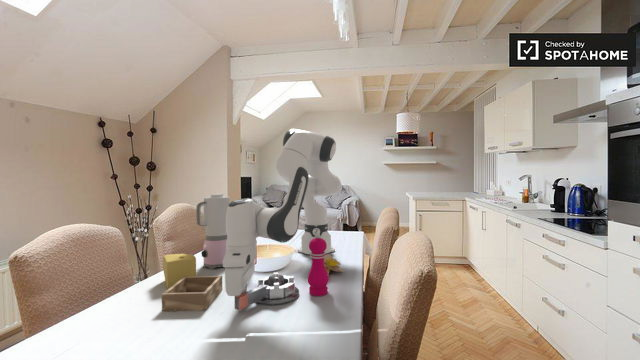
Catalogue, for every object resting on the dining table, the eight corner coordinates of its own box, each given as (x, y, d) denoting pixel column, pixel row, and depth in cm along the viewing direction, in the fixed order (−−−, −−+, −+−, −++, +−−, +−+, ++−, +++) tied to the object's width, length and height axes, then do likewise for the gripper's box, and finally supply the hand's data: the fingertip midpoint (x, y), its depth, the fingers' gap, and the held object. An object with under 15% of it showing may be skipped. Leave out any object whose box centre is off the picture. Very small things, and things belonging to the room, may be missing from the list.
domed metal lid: (258, 287, 102) (257, 270, 102) (300, 286, 102) (299, 269, 102) (248, 306, 87) (248, 286, 87) (297, 304, 87) (297, 285, 87)
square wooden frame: (184, 290, 99) (184, 276, 99) (222, 290, 100) (222, 275, 100) (162, 311, 84) (161, 294, 84) (206, 310, 85) (206, 293, 85)
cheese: (192, 275, 115) (192, 251, 115) (197, 284, 106) (197, 257, 106) (163, 281, 109) (162, 255, 109) (165, 290, 100) (165, 262, 100)
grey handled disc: (275, 281, 103) (275, 269, 103) (301, 288, 96) (301, 276, 96) (224, 304, 85) (223, 290, 85) (251, 315, 78) (251, 299, 78)
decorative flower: (344, 279, 109) (344, 253, 109) (315, 279, 109) (314, 253, 109) (342, 266, 124) (342, 243, 124) (316, 267, 124) (316, 244, 124)
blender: (223, 260, 136) (222, 193, 136) (238, 265, 128) (237, 193, 128) (190, 268, 124) (189, 195, 124) (204, 274, 116) (203, 195, 116)
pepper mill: (327, 297, 92) (326, 236, 92) (305, 296, 94) (304, 235, 94) (330, 289, 99) (330, 231, 99) (310, 287, 101) (309, 231, 101)
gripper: (240, 244, 97) (240, 285, 97) (220, 263, 76) (221, 314, 76) (258, 244, 97) (259, 284, 97) (244, 262, 76) (245, 314, 77)
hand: (242, 298), depth 87 cm, fingers closed
